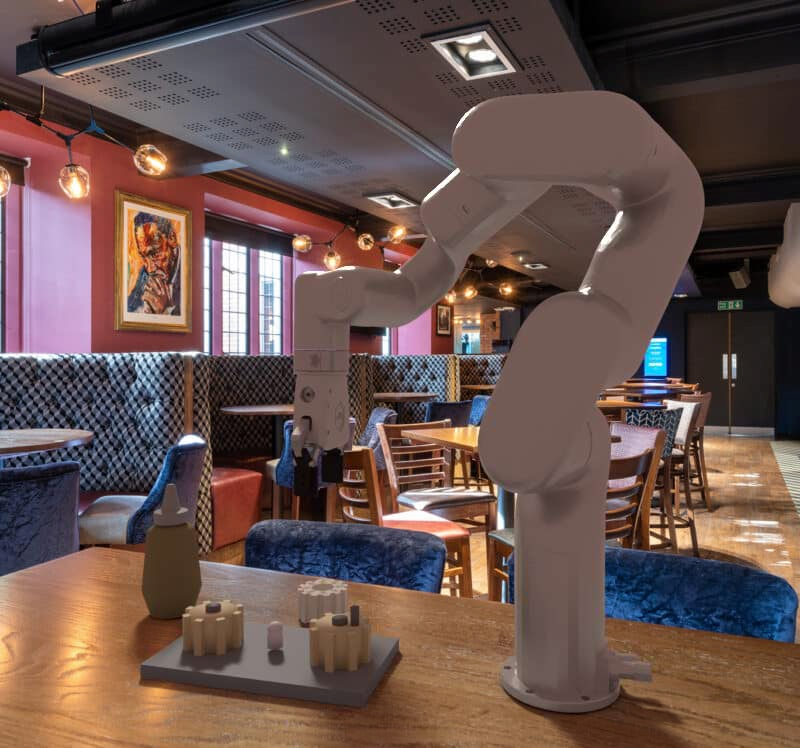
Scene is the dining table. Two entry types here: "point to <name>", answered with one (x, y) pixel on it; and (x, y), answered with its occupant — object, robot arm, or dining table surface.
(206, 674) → the gear board
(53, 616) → the dining table surface
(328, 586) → the cream idler gear
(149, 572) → the squeeze bottle
